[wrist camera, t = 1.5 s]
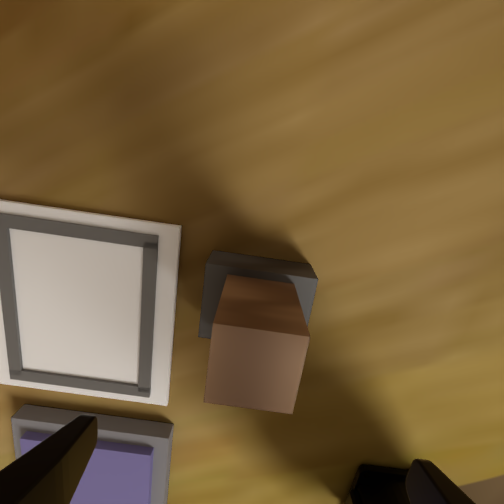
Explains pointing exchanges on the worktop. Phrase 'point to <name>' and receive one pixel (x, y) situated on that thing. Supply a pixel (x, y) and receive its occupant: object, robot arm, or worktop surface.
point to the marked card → (87, 302)
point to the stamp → (255, 329)
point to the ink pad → (107, 455)
